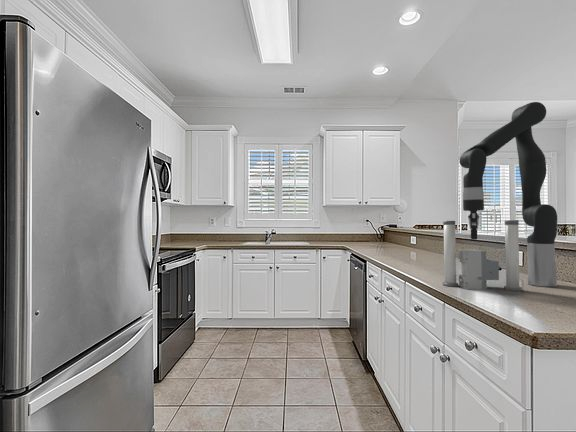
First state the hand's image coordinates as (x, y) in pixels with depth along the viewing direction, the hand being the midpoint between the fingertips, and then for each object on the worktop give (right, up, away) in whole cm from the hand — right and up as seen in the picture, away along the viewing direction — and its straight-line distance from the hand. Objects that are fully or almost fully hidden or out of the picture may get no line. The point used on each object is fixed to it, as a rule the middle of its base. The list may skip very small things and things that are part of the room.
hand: (474, 238), depth 141 cm
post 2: (+12, -19, -6) cm, 24 cm away
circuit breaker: (+2, -20, -1) cm, 20 cm away
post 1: (-8, -20, +4) cm, 22 cm away
